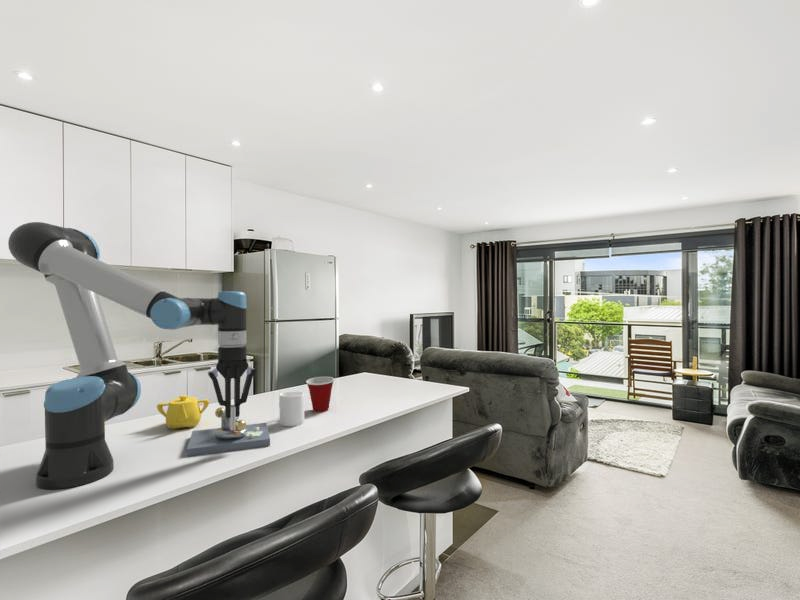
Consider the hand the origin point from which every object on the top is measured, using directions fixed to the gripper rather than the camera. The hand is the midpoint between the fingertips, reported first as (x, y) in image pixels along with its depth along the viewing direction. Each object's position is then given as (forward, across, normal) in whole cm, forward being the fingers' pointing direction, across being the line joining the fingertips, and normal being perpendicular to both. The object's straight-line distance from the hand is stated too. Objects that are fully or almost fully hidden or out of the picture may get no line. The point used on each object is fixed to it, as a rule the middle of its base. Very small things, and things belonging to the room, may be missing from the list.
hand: (232, 428), depth 120 cm
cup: (+7, +22, +20) cm, 30 cm away
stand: (+7, +1, +9) cm, 11 cm away
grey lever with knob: (+5, +1, +9) cm, 10 cm away
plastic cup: (+6, +36, +29) cm, 47 cm away
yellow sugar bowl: (+7, -11, +34) cm, 36 cm away
